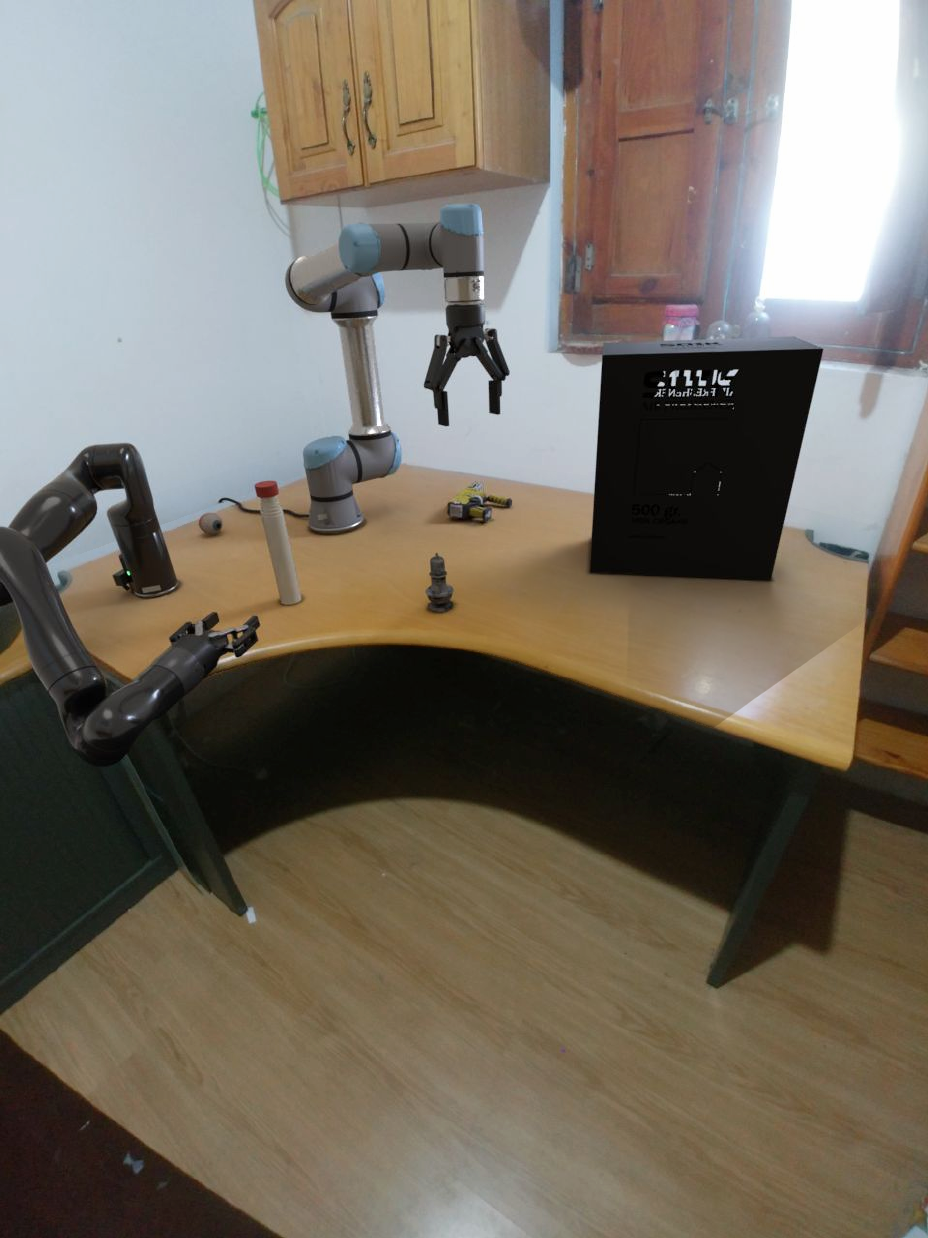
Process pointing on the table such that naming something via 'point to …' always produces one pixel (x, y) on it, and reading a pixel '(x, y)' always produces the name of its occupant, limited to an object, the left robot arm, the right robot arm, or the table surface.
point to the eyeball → (210, 523)
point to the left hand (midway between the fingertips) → (236, 617)
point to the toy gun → (474, 503)
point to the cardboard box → (698, 455)
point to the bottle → (280, 550)
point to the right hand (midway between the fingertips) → (470, 419)
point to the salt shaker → (439, 586)
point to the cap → (266, 489)
